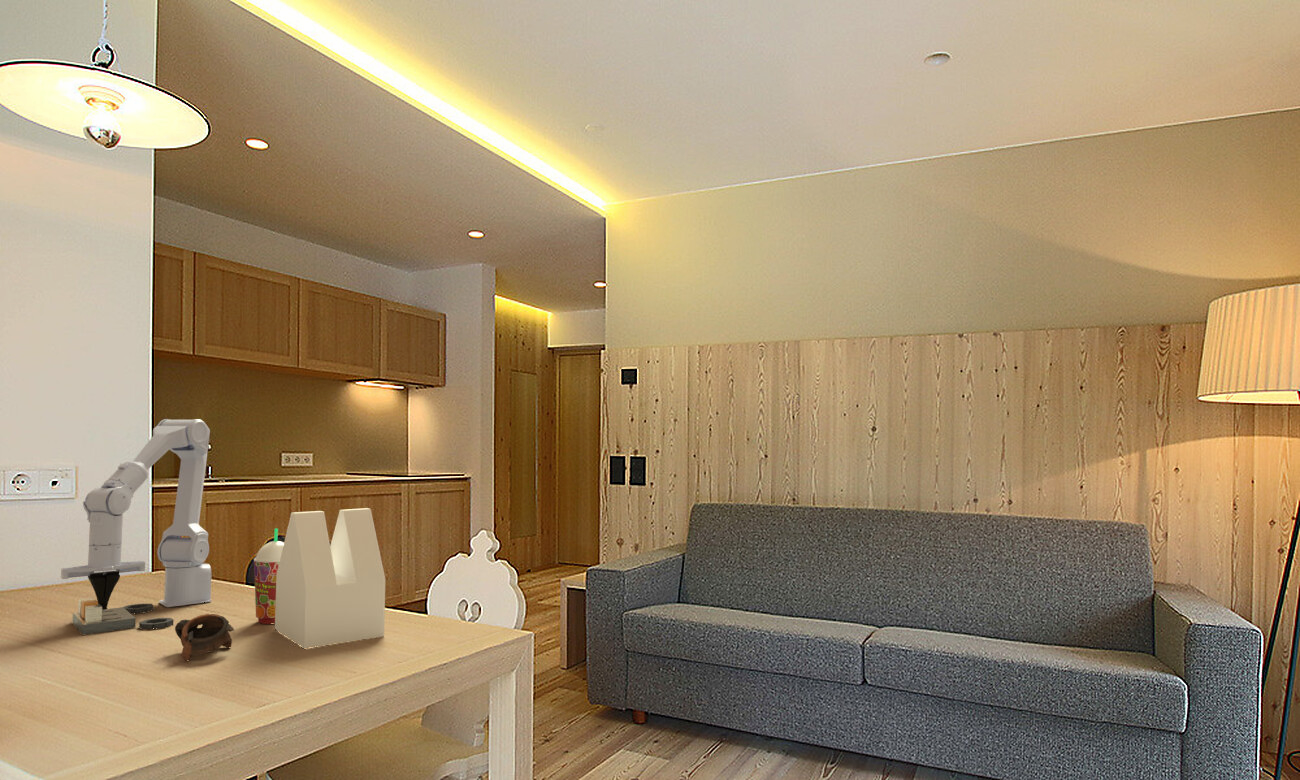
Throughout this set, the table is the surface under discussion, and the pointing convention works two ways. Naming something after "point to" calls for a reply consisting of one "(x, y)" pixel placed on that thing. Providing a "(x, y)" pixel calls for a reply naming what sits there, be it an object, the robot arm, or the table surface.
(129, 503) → the robot arm
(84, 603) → the orange breaker switch
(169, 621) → the coil
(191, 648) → the rusty ring housing
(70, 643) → the table surface
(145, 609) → the coil
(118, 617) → the breaker strip
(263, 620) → the smoothie
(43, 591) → the table surface
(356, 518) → the white v-notch block
